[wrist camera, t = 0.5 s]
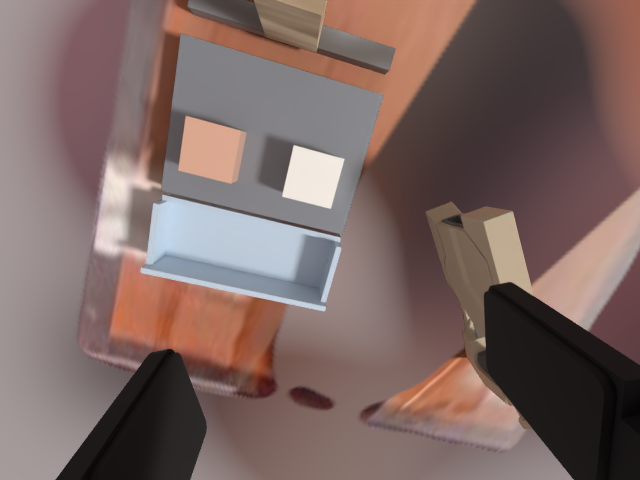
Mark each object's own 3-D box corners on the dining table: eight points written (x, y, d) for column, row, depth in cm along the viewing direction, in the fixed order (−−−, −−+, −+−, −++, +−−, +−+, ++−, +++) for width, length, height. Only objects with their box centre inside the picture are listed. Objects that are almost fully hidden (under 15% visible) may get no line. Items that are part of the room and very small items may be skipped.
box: (170, 192, 35) (149, 198, 30) (339, 233, 38) (344, 245, 33) (161, 256, 37) (140, 272, 33) (322, 291, 40) (324, 311, 35)
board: (190, 42, 31) (180, 33, 29) (377, 99, 34) (383, 95, 31) (170, 187, 35) (160, 190, 33) (340, 229, 38) (342, 234, 35)
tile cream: (294, 145, 32) (293, 145, 29) (340, 158, 33) (344, 159, 30) (283, 192, 34) (281, 196, 31) (328, 203, 34) (330, 208, 31)
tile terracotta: (196, 118, 31) (185, 115, 28) (246, 132, 32) (241, 130, 29) (189, 168, 32) (178, 170, 29) (237, 180, 33) (231, 183, 30)
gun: (489, 359, 44) (578, 451, 29) (467, 367, 44) (543, 462, 30) (442, 197, 39) (519, 209, 25) (417, 206, 40) (479, 223, 25)
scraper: (198, -14, 30) (143, -101, 20) (391, 49, 33) (434, 1, 22) (193, 21, 31) (137, -45, 20) (382, 79, 33) (419, 47, 23)
